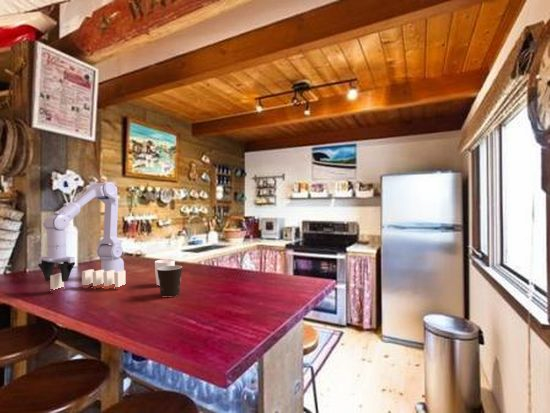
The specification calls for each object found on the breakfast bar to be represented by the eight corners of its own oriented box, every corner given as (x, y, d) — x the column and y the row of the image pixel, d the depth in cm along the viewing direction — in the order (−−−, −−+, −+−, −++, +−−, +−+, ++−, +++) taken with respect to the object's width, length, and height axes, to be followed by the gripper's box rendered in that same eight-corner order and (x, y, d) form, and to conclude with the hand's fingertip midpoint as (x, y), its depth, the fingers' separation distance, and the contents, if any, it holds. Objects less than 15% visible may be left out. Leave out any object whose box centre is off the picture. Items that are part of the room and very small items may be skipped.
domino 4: (111, 286, 125) (111, 269, 125) (115, 286, 125) (114, 269, 125) (103, 289, 121) (103, 272, 121) (107, 289, 121) (106, 272, 121)
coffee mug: (178, 298, 107) (177, 270, 107) (153, 298, 107) (153, 270, 107) (188, 289, 119) (187, 263, 119) (166, 289, 119) (165, 264, 119)
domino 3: (101, 286, 126) (100, 269, 126) (104, 286, 126) (104, 269, 126) (92, 289, 122) (92, 271, 122) (96, 289, 122) (95, 271, 122)
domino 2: (90, 286, 127) (90, 269, 127) (94, 286, 127) (93, 269, 127) (82, 288, 123) (81, 271, 123) (85, 288, 123) (85, 271, 123)
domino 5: (122, 287, 124) (122, 270, 124) (125, 287, 124) (125, 270, 124) (114, 290, 120) (114, 272, 120) (118, 290, 120) (117, 272, 120)
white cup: (178, 282, 130) (177, 259, 130) (170, 287, 123) (169, 262, 123) (160, 282, 131) (160, 259, 131) (151, 287, 123) (151, 262, 123)
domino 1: (60, 290, 121) (60, 273, 121) (64, 290, 121) (63, 273, 121) (50, 293, 117) (50, 275, 117) (54, 294, 116) (53, 275, 116)
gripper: (31, 247, 116) (31, 282, 116) (63, 247, 113) (63, 284, 113) (48, 244, 123) (48, 278, 123) (78, 245, 120) (79, 279, 120)
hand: (57, 281), depth 119 cm, fingers open, 7 cm apart
